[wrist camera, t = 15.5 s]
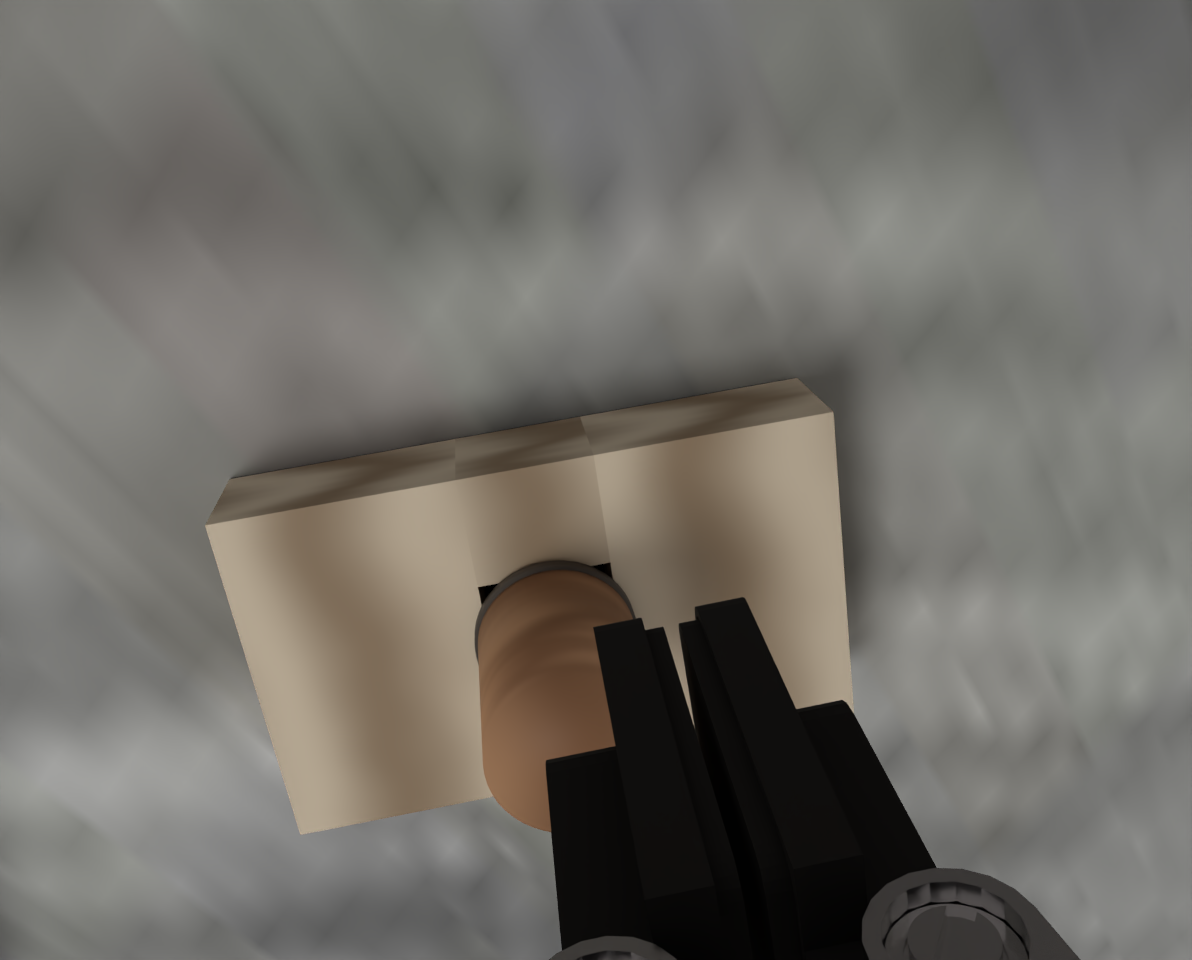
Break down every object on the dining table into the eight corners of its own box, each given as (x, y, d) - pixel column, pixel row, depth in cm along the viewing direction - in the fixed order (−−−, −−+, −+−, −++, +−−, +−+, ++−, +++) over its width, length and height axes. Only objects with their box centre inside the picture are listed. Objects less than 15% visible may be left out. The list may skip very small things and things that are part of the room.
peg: (607, 499, 39) (661, 653, 29) (627, 629, 41) (684, 815, 31) (459, 526, 39) (462, 691, 29) (486, 655, 41) (498, 853, 31)
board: (797, 378, 39) (833, 412, 35) (820, 667, 43) (854, 724, 39) (229, 479, 37) (205, 525, 34) (314, 766, 42) (300, 834, 38)
